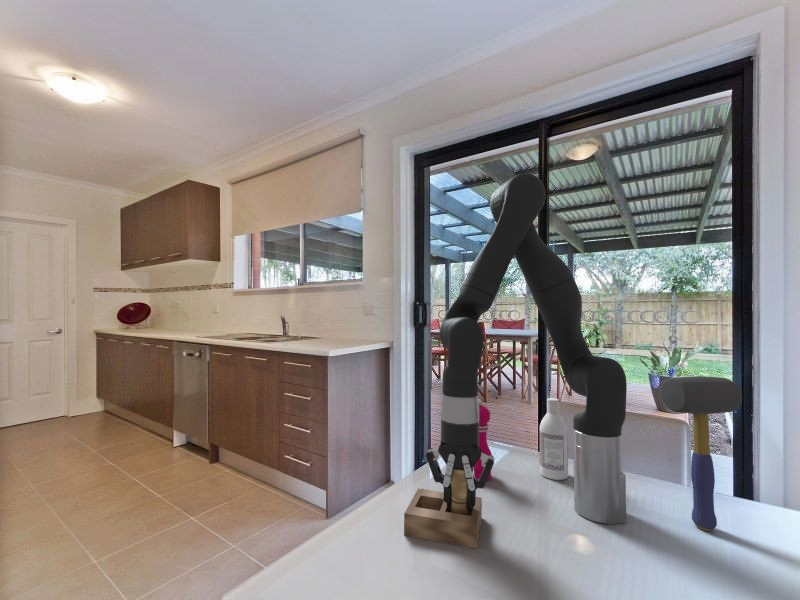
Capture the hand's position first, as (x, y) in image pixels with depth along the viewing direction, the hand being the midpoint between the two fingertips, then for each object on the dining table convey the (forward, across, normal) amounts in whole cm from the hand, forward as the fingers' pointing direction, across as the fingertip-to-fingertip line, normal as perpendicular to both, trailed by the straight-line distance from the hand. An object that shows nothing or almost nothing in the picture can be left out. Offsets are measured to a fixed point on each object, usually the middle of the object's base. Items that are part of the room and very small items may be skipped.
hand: (459, 505), depth 73 cm
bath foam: (+4, -21, -33) cm, 39 cm away
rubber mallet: (+4, -47, -15) cm, 49 cm away
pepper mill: (+5, -2, -26) cm, 26 cm away
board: (+4, +3, 0) cm, 5 cm away
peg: (+3, 0, 0) cm, 3 cm away
